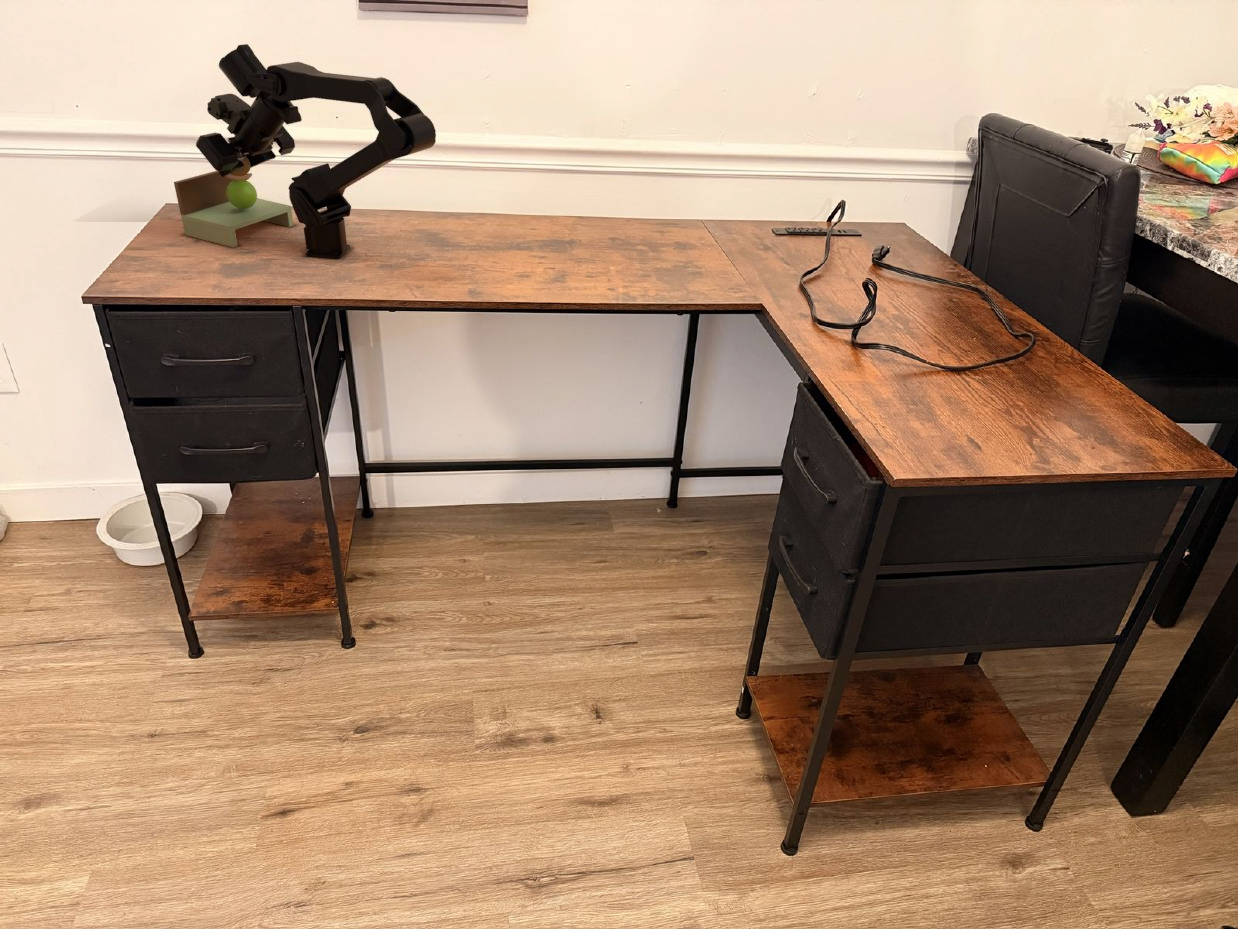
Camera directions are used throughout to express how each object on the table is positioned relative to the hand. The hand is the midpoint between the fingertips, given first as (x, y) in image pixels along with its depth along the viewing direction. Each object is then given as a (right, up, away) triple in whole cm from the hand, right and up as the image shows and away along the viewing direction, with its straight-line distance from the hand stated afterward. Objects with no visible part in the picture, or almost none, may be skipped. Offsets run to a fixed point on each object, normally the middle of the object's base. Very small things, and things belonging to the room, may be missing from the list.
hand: (229, 172), depth 161 cm
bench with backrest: (-1, -9, +6) cm, 11 cm away
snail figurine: (+1, -6, +3) cm, 7 cm away
